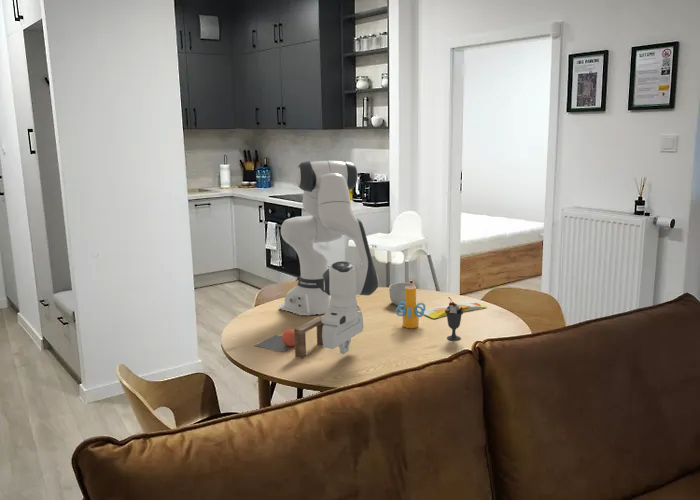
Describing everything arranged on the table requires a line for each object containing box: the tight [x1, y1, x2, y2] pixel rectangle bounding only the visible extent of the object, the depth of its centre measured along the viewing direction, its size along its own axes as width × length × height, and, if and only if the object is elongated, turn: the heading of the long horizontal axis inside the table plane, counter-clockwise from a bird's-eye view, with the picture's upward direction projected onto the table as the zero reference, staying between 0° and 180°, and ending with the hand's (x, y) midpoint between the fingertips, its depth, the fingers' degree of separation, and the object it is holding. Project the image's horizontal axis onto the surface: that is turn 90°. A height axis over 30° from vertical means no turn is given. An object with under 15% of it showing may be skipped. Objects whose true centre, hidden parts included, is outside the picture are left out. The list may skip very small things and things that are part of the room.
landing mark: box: [254, 334, 293, 353], centre depth 218 cm, size 12×12×1 cm
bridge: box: [293, 315, 324, 359], centre depth 210 cm, size 3×15×10 cm, turn 149°
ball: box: [281, 328, 295, 348], centre depth 215 cm, size 6×6×6 cm
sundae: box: [445, 297, 465, 342], centre depth 218 cm, size 7×7×15 cm
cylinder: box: [395, 285, 426, 329], centre depth 232 cm, size 12×10×15 cm
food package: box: [423, 300, 487, 320], centre depth 251 cm, size 27×2×10 cm
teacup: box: [388, 281, 416, 306], centre depth 262 cm, size 14×11×8 cm
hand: (344, 352), depth 204 cm, fingers closed
